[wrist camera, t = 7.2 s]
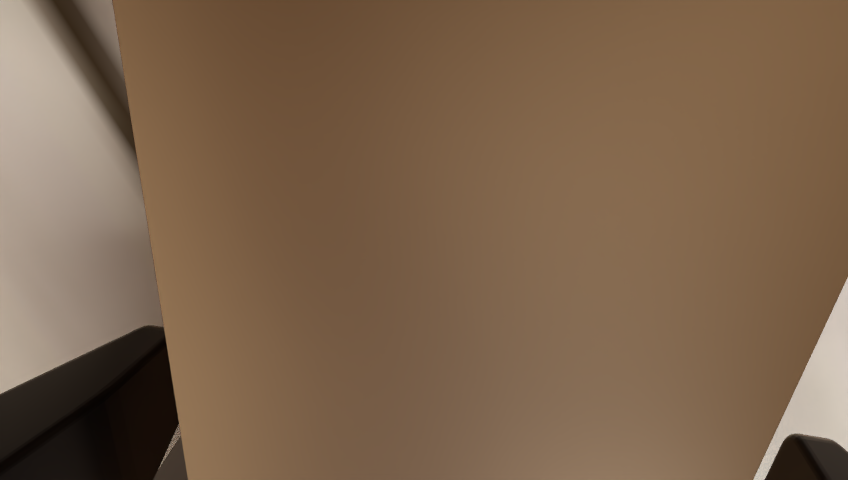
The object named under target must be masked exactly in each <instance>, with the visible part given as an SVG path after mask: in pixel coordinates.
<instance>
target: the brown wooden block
mask: <svg viewBox="0 0 848 480" xmlns="http://www.w3.org/2000/svg"><path fill="white" fill-rule="evenodd" d="M112 1H113V8H114V14H115V20H116V27H117V33H118V39H119V46H120V52H121V58H122V65H123V71H124V77H125V84H126V90H127V96H128V103H129V109H130V115H131V122H132V128H133V134H134V141H135V147H136V153H137V160H138V166H139V172H140V179H141V185H142V191H143V198H144V204H145V210H146V217H147V223H148V229H149V236H150V242H151V249H152V255H153V261H154V268H155V274H156V280H157V287H158V293H159V299H160V306H161V312H162V318H163V325H164V331H165V337H166V344H167V350H168V356H169V363H170V369H171V375H172V382H173V388H174V394H175V401H176V407H177V413H178V420H179V426H180V432H181V439H182V445H183V451H184V458H185V464H186V470H187V477H188V480H753V479H754V476H755V474H756V472H757V470H758V468H759V466H760V464H761V462H762V459H763V457H764V455H765V453H766V451H767V449H768V447H769V444H770V442H771V440H772V438H773V436H774V434H775V432H776V429H777V427H778V425H779V423H780V421H781V419H782V417H783V414H784V412H785V410H786V408H787V406H788V404H789V402H790V399H791V397H792V395H793V393H794V391H795V389H796V387H797V384H798V382H799V380H800V378H801V376H802V374H803V372H804V369H805V367H806V365H807V363H808V361H809V359H810V357H811V354H812V352H813V350H814V348H815V346H816V344H817V342H818V339H819V337H820V335H821V333H822V331H823V329H824V327H825V324H826V322H827V320H828V318H829V316H830V314H831V312H832V309H833V307H834V305H835V303H836V301H837V299H838V297H839V294H840V292H841V290H842V288H843V286H844V284H845V282H846V279H847V277H848V0H112Z"/></svg>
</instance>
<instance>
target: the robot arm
mask: <svg viewBox="0 0 848 480" xmlns="http://www.w3.org/2000/svg"><path fill="white" fill-rule="evenodd" d="M178 424H179V420H178V413H177V407H176V401H175V394H174V388H173V382H172V375H171V369H170V363H169V356H168V350H167V344H166V337H165V331H164V327H159V326H149V325H148V326H143V327H141V328H138V329H136V330H134V331H132V332H130V333H128V334H126V335H124V336H122V337H120V338H117V339H115V340H113V341H111V342H109V343H107V344H105V345H103V346H101V347H98V348H96V349H94V350H92V351H90V352H88V353H86V354H84V355H82V356H79V357H77V358H75V359H73V360H71V361H69V362H67V363H65V364H63V365H61V366H58V367H56V368H54V369H52V370H50V371H48V372H46V373H44V374H42V375H39V376H37V377H35V378H33V379H31V380H29V381H27V382H25V383H23V384H20V385H18V386H16V387H14V388H12V389H10V390H8V391H6V392H4V393H2V394H0V480H153V479H154V477H155V475H156V473H157V471H158V468H159V466H160V464H161V462H162V460H163V457H164V455H165V453H166V451H167V449H168V446H169V444H170V442H171V440H172V437H173V435H174V433H175V431H176V429H177V426H178ZM765 480H848V452H847V451H846V450H845V449H844V448H843V447H841V446H840V445H839V444H838V443H836V442H835V441H833V440H830V439H827V438H821V437H815V436H809V435H803V434H791V435H789V436H788V437H787V438H785V440H784V441H783V443H782V445H781V447H780V449H779V451H778V453H777V455H776V457H775V459H774V461H773V464H772V466H771V468H770V470H769V472H768V474H767V476H766V478H765Z"/></svg>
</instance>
